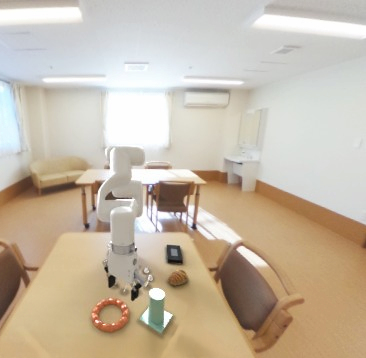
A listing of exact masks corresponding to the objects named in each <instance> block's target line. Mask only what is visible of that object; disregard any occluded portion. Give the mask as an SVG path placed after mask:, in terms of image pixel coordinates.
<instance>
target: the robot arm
mask: <svg viewBox="0 0 366 358" xmlns="http://www.w3.org/2000/svg"><path fill="white" fill-rule="evenodd" d="M104 153H105V158H106V161H107V164H108V166H109V177H108V178H106V179H105V180H104V181H103V183H102V184H101V185H100V187H99V188H98V192H97V196H96V217H97V219H98V221H100V222H102V223H109V224H110V227H109V228H110V241H108V244H107V246H106V247H107V248H109V251H108V256H107V257H108V258H107V259H104V260H102V265H103V270H104V271H105V273H106V275H105V276H106V277H107V287H108V288H109V289H112V287H114V284H115V283H116V284H117V281H116V280H117V279H118V280H120V281H122V282H124V283H126V284H129V285H130V287H131V290H130V300H131V302H134V301H136V299H138V298H139V295H140V289H142V287H143V286H145V284H146V283H147V279H146V278H145V277H144V276H143V275H142V274H141V273H140V262H139V261H140V260H139V255H138V247H137V246H136V243H135V231H136V230H135V225H136V224H135V223H136V222H135V221H136V219H137V218H140V217H142V216H143V213H144V187H143V182H142V181H141V180H140V179H139V178H133V173H132V167H141V166H143V165H144V164H145V161H146V152H145V149H144V147H143V146H142V145H109V146H107V147H106V148H105V150H104ZM110 193H111V194H112V196H113V197H115V198H120V199H106V197H107V196H108V195H109V194H110ZM122 198H124V199H122ZM127 198H129V199H127ZM131 198H132V199H131ZM116 284H115V285H116Z"/></svg>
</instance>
